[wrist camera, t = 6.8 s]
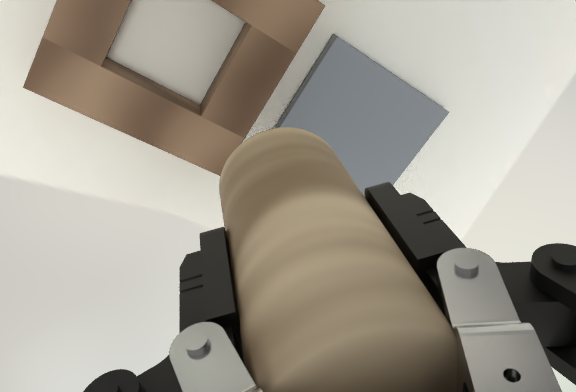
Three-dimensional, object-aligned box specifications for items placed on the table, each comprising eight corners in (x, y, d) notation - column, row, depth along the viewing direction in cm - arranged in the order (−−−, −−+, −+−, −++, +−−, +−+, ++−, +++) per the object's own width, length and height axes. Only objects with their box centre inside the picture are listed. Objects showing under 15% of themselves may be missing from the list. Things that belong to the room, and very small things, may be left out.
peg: (213, 133, 15) (248, 351, 7) (344, 122, 16) (499, 309, 8) (224, 242, 17) (260, 497, 9) (338, 228, 18) (455, 454, 10)
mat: (252, 163, 32) (253, 168, 31) (333, 34, 28) (337, 36, 28) (361, 215, 36) (364, 221, 35) (443, 108, 33) (449, 112, 32)
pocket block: (33, 76, 26) (22, 87, 24) (118, -139, 22) (112, -144, 20) (219, 163, 31) (221, 176, 30) (316, 0, 27) (325, 5, 25)
